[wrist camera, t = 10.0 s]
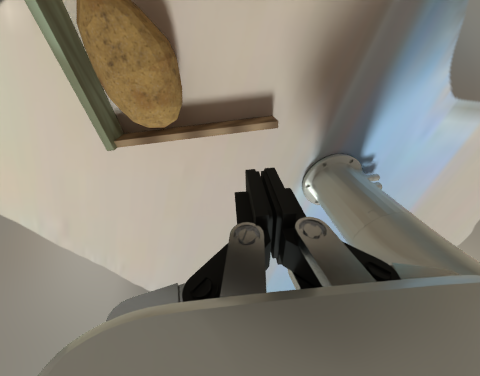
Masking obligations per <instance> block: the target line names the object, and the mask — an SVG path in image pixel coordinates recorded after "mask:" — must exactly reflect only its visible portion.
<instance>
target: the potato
mask: <svg viewBox="0 0 480 376" xmlns="http://www.w3.org/2000/svg"><path fill="white" fill-rule="evenodd" d="M77 25H78V28H79V31H80V34H81V37H82V41H83V44H84V47H85V49H86V52H87V54H88V56H89V59H90V61H91V64H92V66H93V68H94V70H95V72H96V75H97V77H98V79H99V81H100V83H101V85H102V86H103V88H104V90H105V91H106V93H107V95H108V96H109V98H110V99H111V100H112V101H113V102H114V103H115V104H116V105H117V106H118V107H119V109H120V110H121V111H122V112H123V113H125V114H126V115H127V116H128V117H129V118H130V119H131V120H132V121H133V122H135V123H137V124H140V125H143V126H145V127H148V128H165V127H166V126H168V125H169V124H171V123H172V122H174V121H175V120H177V119H178V115H179V112H180V108H181V105H182V85H181V79H180V74H179V68H178V63H177V58H176V56H175V54H174V52H173V50H172V48H171V45H170V43H169V41H168V40H167V39H166V37H165V36H164V35H163V34H162V33H161V32H160V31H159V30H158V28H157V27H156V26H155V25H154V24H153V23H152V22H151V21H150V19H149V18H148V17H147V16H146V15H145V14H144V13H143V12H142V11H141V9H140V8H139V7H137V6H136V5H135V4H134V3H133V2H132V1H131V0H77Z"/></svg>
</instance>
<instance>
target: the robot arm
mask: <svg viewBox="0 0 480 376" xmlns="http://www.w3.org/2000/svg"><path fill="white" fill-rule="evenodd" d="M379 179H380V177H379V175H378V174H373V175H367V174H365V173H364V172H363V171H362V166H361V164H360V163H359V161H358V160H356V159H355V158H354V157H352V156H350V155H347V154H335V155H331V156H328V157H326V158H324V159H322V160H320V161H319V162H317V163H316V164H315V165H314V166H312V167H311V169H310V170H309V171H308V172H307V174H306V176H305V178H304V180H303V185H302V190H303V193H304V195H305V197H306V198H307V199H308V200H309V201H310V202H311V203H313V204H317V205H321V207H322V208H323V209H324V211H325V212H326V214H327V215H328V216H329V218H330V219H331V221H332V222H333V223H334V225H335V226H336V228H337V229H338V230H339V232H340V233H341V235H342V236H343V237H344V239H345V240H346V242H347V243H348V244H346V243H344V242H342V241H341V240H340V239H339V238H338V236H337V235H336V234H335V233H334V232H333V231H332V230H331V228H330V227H329V226H328V225H327V224H326V223H325V222H323V221H321V220H320V219H317V218H313V217H306V215H305V214H304V212H303V210H302V208H301V206H300V205H299V203H298V201H297V199H296V197H295V195H294V194H293V192H292V190H291V189H290V188H284V186H283V184H282V182H281V180H280V178H279V176H278V174H277V172H276V170H275V168H265V169H264V171H261V176H260V173H259V171H257V172H256V171H255V169H251V170H246V192H235V202H236V215H237V225H236V226H234V227H233V229H232V230H231V232H230V237H229V243H228V244H227V245H225V246H224V247H223V248H222V249H221V250H220V251H219V252H218V253H217V254H216V255H214V256H213V257H212V258H211V259H210V260H209V261H208V262H207V263H206V264H205V265H203V266H202V267H201V268H200V269H199V270H198V271H197V272H196V273H195V274H194V275H193V276H191V277H190V278H189V280H188V281H187V282H186V283H184V284H181V285H178V283H176V284H173V285H170V286H167V287H164V288H161V289H158V290H155V291H151V292H148V293H145V294H142V295H139V296H136V297H133V298H130V299H127V300H125V301H123V302H121V303H120V304H119V305H118V306H116V307H115V308H114V309H113V310H112V312H111V313H110V314H109V316H108V318H107V320H106V322H104V323H102V324H101V325H99V326H97V327H95V328H93V329H92V330H89V331H88V332H86V333H85V334H83V335H81V336H80V337H79V338H77V339H75V340H74V341H72V342H71V343H70V344H68V345H67V346H66V347H65V348H63V349H62V350H61V351H60V352H59V353H57V355H56V356H55V357H54V358H53V359H52V360H51V361H50V362H49V363H48V364H47V365H46V366H45V367H44V369H43V370H42V371H41V372H40V373H39V375H38V376H480V262H479V261H477V260H476V259H474V258H472V257H471V256H470V255H468V254H466V253H465V252H463V251H462V250H460V249H459V248H457V247H456V246H454V245H453V244H452V243H450V242H449V241H448V240H446V239H445V238H443V237H442V236H441V235H439V234H438V233H437V232H435V231H434V230H433V229H431V228H430V227H429V226H427V225H426V224H425V223H423V222H422V221H421V220H419V219H418V218H417V217H416V216H414V215H413V214H412V213H411V212H409V211H408V210H407V209H405V208H404V207H403V206H402V205H400V204H399V203H398V202H396V201H395V200H394V199H393V198H391V197H390V196H389V195H388V194H386V193H385V192H384V191H382V190H381V189H382V185H381V183H379V182H375V183H372V182H371V181H378V180H379ZM270 252H271V254H272V258H276V260H277V263H278V265H279V264H282V265H283V266H284V267H286V268H288V273H289V276H290V278H291V280H292V282H293V284H294V286H295V288H296V290H289V291H279V292H269V293H266V272H265V271H266V270H267V268H268V267H269V262H270Z"/></svg>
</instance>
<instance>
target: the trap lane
mask: <svg viewBox="0 0 480 376" xmlns="http://www.w3.org/2000/svg"><path fill="white" fill-rule="evenodd" d="M24 1H25V2H26V4H27V6H28V8H29V10H30V11H31V13H32V15H33V17H34V19H35V20H36V22H37V24H38V26H39V28H40V30H41V31H42V33H43V35H44V37H45V39H46V40H47V42H48V44H49V46H50V48H51V50H52V51H53V53H54V55H55V57H56V59H57V60H58V62H59V64H60V66H61V68H62V70H63V71H64V73H65V75H66V77H67V79H68V80H69V82H70V84H71V86H72V88H73V89H74V91H75V93H76V95H77V97H78V99H79V100H80V102H81V104H82V106H83V108H84V109H85V111H86V113H87V115H88V117H89V119H90V120H91V122H92V124H93V126H94V128H95V129H96V131H97V133H98V135H99V137H100V138H101V140H102V142H103V144H104V146H105V148H106V149H107V151H111V150H115V149H116V148H118V147H126V146H134V145H142V144H150V143H158V142H166V141H175V140H183V139H191V138H199V137H207V136H215V135H224V134H232V133H240V132H248V131H256V130H264V129H273V128H278V121H277V120H276V119H275V118H274V117H273V116H267V117H258V118H250V119H242V120H234V121H225V122H217V123H209V124H200V125H192V126H184V127H175V128H167V129H159V130H151V131H142V132H134V133H126V134H124V133H123V131H122V128H121V126H120V124H119V122H118V120H117V118H116V116H115V113H114V111H113V109H112V107H111V105H110V103H109V101H108V98H107V96H106V94H105V92H104V90H103V88H102V86H101V83H100V81H99V79H98V77H97V75H96V73H95V71H94V68H93V66H92V64H91V62H90V60H89V58H88V56H87V53H86V51H85V49H84V47H83V45H82V43H81V41H80V38H79V36H78V34H77V32H76V30H75V28H74V26H73V23H72V21H71V19H70V17H69V15H68V13H67V11H66V8H65V6H64V4H63V2H62V0H24Z"/></svg>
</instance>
